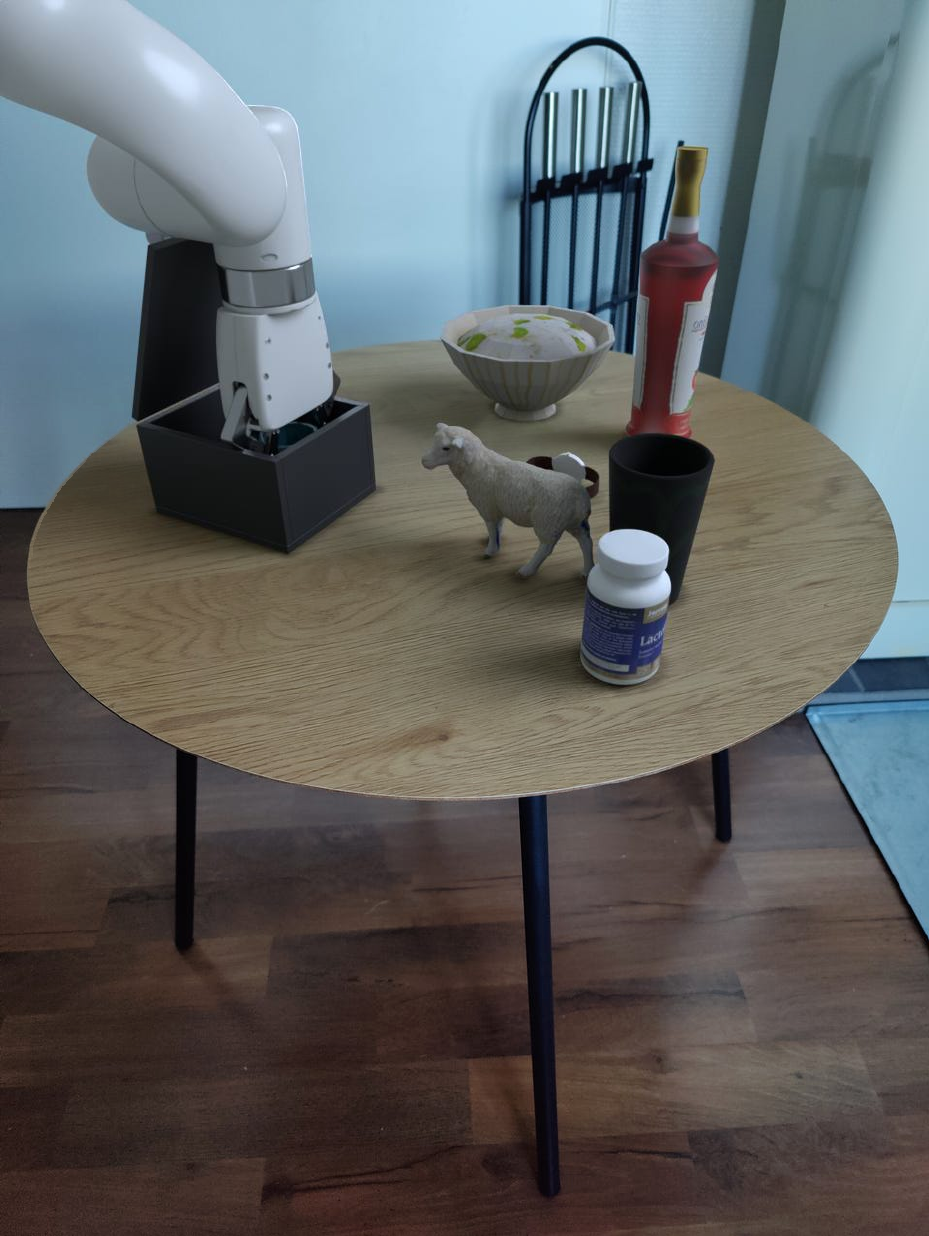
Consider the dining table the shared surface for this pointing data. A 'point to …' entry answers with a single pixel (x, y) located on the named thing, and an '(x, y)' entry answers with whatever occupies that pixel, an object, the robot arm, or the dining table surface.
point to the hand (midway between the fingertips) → (294, 482)
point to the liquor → (673, 309)
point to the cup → (660, 492)
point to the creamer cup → (291, 434)
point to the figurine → (515, 495)
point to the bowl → (527, 354)
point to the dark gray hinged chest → (257, 473)
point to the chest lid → (176, 324)
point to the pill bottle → (626, 607)
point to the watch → (569, 469)
